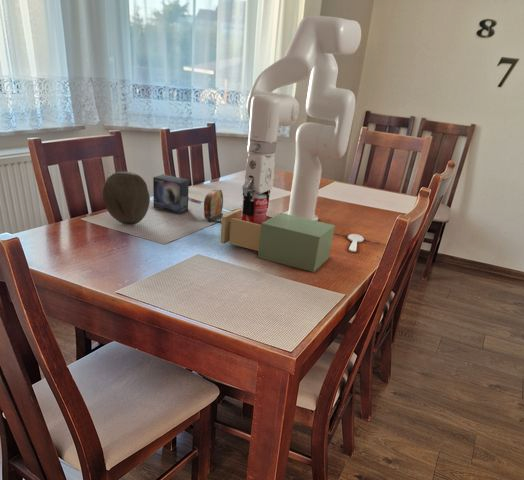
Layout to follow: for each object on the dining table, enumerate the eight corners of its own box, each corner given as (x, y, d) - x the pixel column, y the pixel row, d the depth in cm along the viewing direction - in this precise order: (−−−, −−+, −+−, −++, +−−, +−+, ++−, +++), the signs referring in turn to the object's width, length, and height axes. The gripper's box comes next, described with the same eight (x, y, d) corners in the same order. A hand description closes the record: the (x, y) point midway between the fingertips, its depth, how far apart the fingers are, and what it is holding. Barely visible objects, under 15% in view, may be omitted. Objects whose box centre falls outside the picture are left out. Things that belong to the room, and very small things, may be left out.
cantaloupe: (160, 225, 149) (160, 175, 141) (120, 232, 139) (118, 179, 132) (133, 213, 156) (132, 165, 149) (94, 219, 147) (90, 168, 139)
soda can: (266, 238, 143) (271, 194, 136) (259, 245, 137) (264, 199, 130) (244, 234, 144) (248, 190, 137) (235, 240, 138) (239, 194, 131)
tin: (210, 223, 157) (212, 197, 152) (201, 221, 157) (202, 195, 153) (223, 212, 169) (224, 187, 165) (214, 210, 170) (216, 186, 165)
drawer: (201, 238, 140) (202, 211, 136) (222, 228, 150) (224, 203, 146) (268, 256, 133) (272, 228, 129) (285, 244, 144) (289, 218, 140)
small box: (152, 208, 164) (151, 176, 159) (162, 204, 169) (162, 173, 164) (179, 214, 161) (179, 182, 156) (188, 210, 166) (189, 179, 161)
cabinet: (257, 257, 134) (261, 222, 129) (276, 244, 146) (280, 212, 140) (313, 272, 129) (319, 237, 124) (328, 258, 140) (335, 225, 135)
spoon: (343, 250, 148) (343, 248, 147) (348, 234, 163) (349, 232, 163) (360, 253, 147) (361, 251, 147) (364, 236, 162) (364, 235, 162)
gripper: (260, 153, 119) (254, 221, 128) (286, 146, 133) (279, 207, 142) (234, 148, 122) (229, 215, 131) (262, 141, 135) (256, 202, 144)
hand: (255, 211), depth 136 cm, fingers open, 9 cm apart
